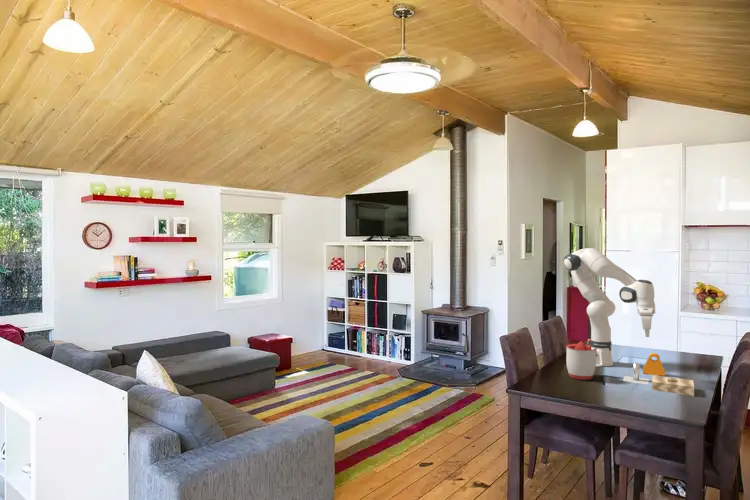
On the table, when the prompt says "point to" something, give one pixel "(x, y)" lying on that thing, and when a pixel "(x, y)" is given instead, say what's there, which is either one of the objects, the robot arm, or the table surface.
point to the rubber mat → (641, 380)
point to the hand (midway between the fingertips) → (647, 335)
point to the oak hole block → (673, 385)
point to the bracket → (654, 366)
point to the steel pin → (636, 371)
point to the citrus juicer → (581, 361)
